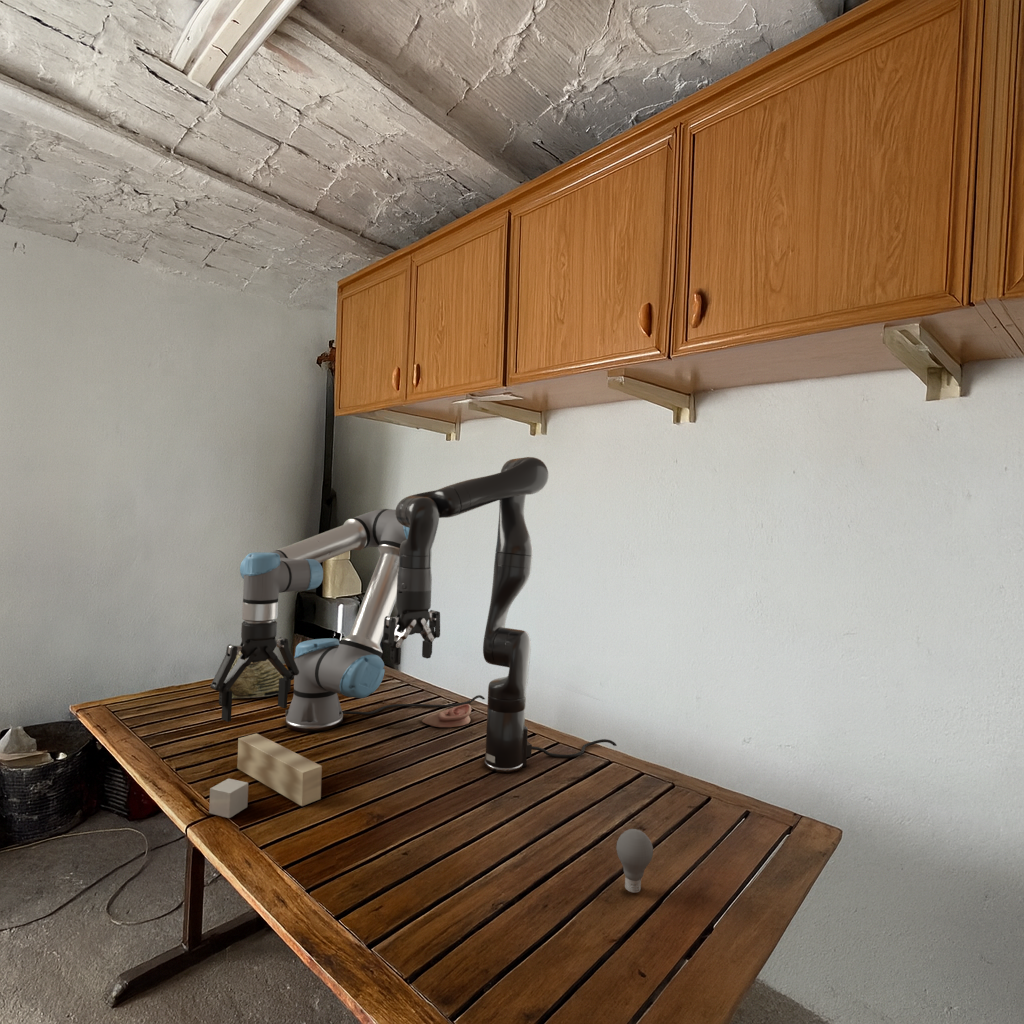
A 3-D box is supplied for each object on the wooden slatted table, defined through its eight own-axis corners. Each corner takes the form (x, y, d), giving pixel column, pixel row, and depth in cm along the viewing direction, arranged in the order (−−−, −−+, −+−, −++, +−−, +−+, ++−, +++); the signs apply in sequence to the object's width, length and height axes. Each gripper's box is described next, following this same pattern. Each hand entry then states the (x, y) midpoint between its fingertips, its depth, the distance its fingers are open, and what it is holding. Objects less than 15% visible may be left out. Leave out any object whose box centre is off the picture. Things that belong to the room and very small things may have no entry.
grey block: (227, 802, 130) (228, 778, 130) (247, 807, 128) (248, 782, 128) (208, 813, 125) (209, 788, 125) (229, 818, 123) (230, 793, 123)
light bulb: (610, 879, 108) (613, 822, 108) (644, 879, 109) (647, 822, 109) (619, 902, 102) (622, 840, 102) (655, 901, 103) (658, 840, 103)
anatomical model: (418, 710, 178) (431, 698, 189) (418, 724, 178) (431, 711, 189) (464, 716, 175) (474, 703, 186) (463, 730, 175) (474, 716, 186)
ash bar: (237, 768, 146) (238, 738, 145) (255, 762, 149) (256, 733, 149) (301, 806, 129) (303, 772, 129) (320, 799, 133) (322, 765, 133)
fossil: (218, 695, 195) (220, 647, 195) (278, 685, 208) (279, 640, 207) (228, 703, 189) (230, 653, 188) (289, 692, 201) (290, 645, 201)
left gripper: (298, 612, 157) (294, 698, 157) (196, 624, 137) (192, 721, 137) (316, 617, 152) (312, 705, 152) (213, 629, 132) (208, 730, 133)
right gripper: (427, 583, 147) (425, 652, 147) (377, 587, 136) (374, 662, 136) (449, 587, 142) (446, 659, 142) (399, 592, 131) (396, 670, 131)
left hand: (255, 713), depth 145 cm, fingers open, 13 cm apart
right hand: (411, 660), depth 139 cm, fingers open, 8 cm apart
